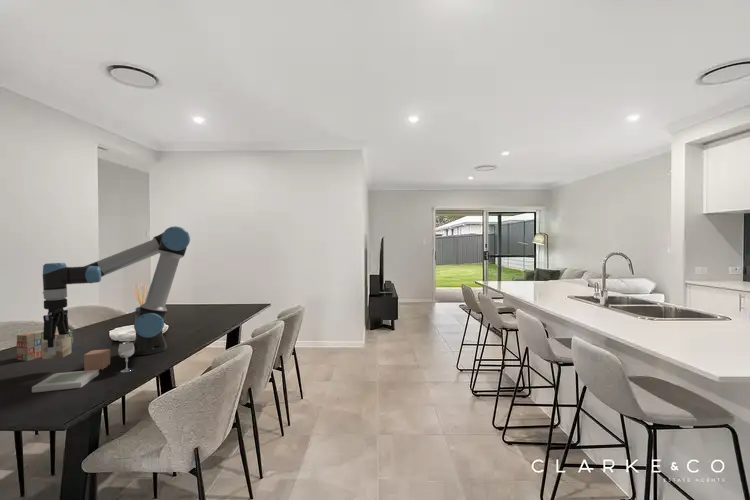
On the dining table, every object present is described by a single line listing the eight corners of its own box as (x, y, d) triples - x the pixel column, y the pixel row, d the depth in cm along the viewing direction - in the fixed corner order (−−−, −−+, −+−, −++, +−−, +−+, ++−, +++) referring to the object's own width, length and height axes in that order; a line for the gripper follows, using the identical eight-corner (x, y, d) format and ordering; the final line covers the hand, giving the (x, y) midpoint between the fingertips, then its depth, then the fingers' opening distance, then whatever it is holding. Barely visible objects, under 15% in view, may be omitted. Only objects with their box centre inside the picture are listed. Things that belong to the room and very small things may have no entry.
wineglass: (138, 369, 155) (137, 341, 155) (124, 373, 149) (124, 345, 149) (128, 367, 156) (128, 340, 156) (115, 372, 151) (114, 343, 151)
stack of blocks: (64, 348, 190) (63, 325, 190) (73, 348, 189) (73, 325, 189) (16, 360, 169) (16, 334, 169) (27, 361, 168) (26, 335, 168)
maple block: (71, 352, 158) (70, 337, 157) (62, 357, 151) (62, 341, 151) (52, 354, 155) (51, 338, 155) (42, 359, 149) (41, 342, 149)
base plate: (99, 374, 149) (98, 369, 149) (81, 387, 134) (81, 381, 134) (55, 378, 144) (55, 372, 144) (31, 392, 130) (31, 386, 130)
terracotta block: (110, 364, 162) (110, 349, 162) (103, 369, 155) (103, 353, 155) (92, 366, 160) (91, 350, 160) (84, 371, 153) (84, 354, 153)
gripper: (57, 296, 161) (59, 346, 162) (29, 302, 142) (31, 360, 143) (77, 295, 163) (79, 345, 164) (52, 301, 144) (54, 358, 145)
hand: (57, 352), depth 153 cm, fingers closed on maple block, 7 cm apart
